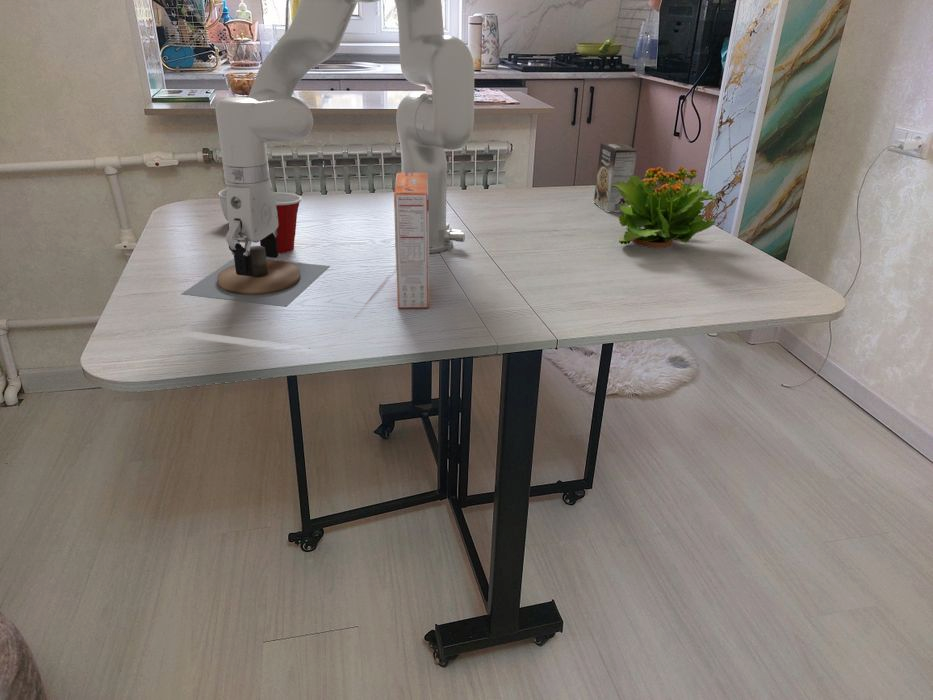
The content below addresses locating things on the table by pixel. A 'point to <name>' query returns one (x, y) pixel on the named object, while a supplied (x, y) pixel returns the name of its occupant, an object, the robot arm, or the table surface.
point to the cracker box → (412, 239)
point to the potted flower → (662, 208)
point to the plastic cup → (286, 220)
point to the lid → (260, 276)
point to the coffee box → (613, 174)
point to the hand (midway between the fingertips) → (258, 265)
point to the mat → (281, 298)
